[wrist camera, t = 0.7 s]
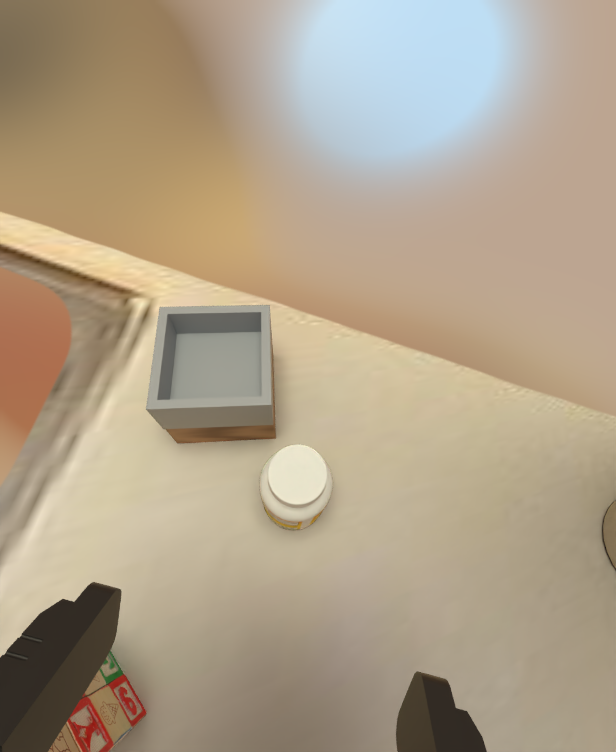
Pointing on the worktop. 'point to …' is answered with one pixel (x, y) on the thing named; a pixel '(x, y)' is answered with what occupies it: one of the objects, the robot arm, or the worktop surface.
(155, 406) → the tower top
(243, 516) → the worktop surface
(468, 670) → the worktop surface
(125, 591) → the worktop surface
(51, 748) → the stack of blocks
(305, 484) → the supplement bottle
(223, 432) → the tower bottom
